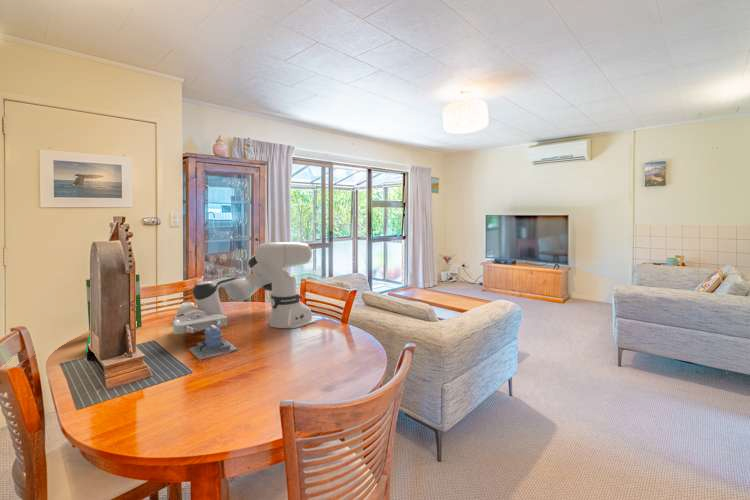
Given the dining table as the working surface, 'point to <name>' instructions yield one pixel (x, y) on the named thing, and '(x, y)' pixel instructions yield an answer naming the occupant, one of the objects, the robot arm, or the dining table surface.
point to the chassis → (212, 349)
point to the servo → (213, 337)
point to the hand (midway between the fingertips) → (206, 328)
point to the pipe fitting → (188, 303)
